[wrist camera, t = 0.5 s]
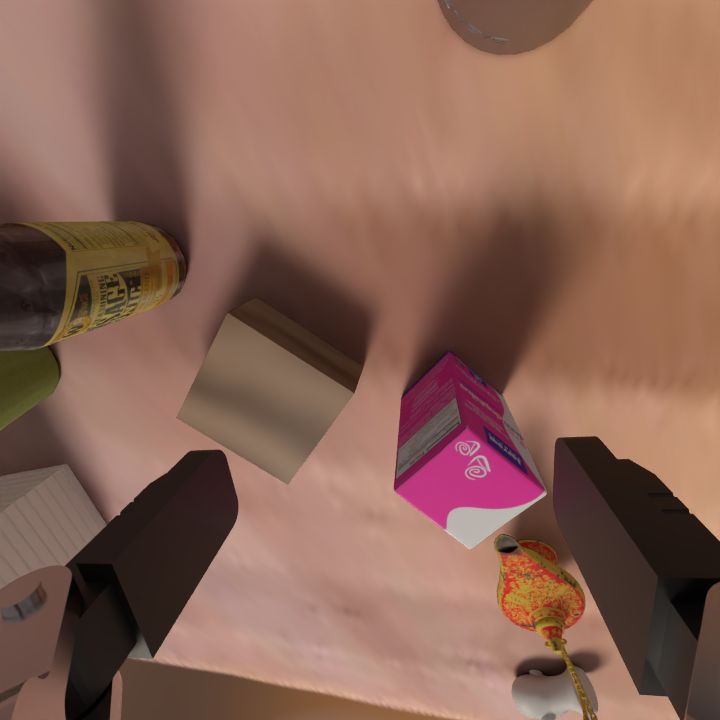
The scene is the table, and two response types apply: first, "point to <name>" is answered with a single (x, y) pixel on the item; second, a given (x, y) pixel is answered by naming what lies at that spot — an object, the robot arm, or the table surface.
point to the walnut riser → (269, 389)
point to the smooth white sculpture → (551, 694)
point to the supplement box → (462, 454)
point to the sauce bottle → (81, 277)
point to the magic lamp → (540, 596)
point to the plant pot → (25, 381)
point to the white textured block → (43, 520)
